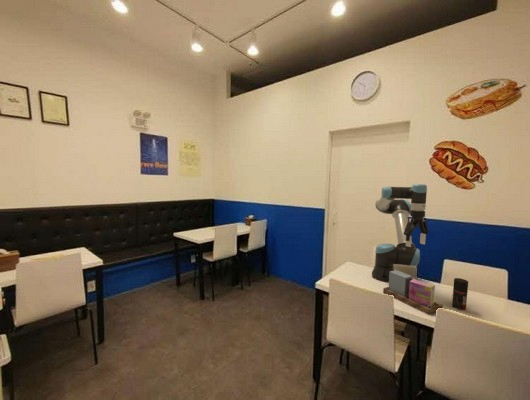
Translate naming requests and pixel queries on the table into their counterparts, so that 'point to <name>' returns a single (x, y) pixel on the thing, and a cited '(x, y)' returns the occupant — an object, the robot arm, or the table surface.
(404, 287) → the matte grey rectangular block
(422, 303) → the box
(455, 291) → the deodorant
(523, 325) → the table surface
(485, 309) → the table surface
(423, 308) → the tray
